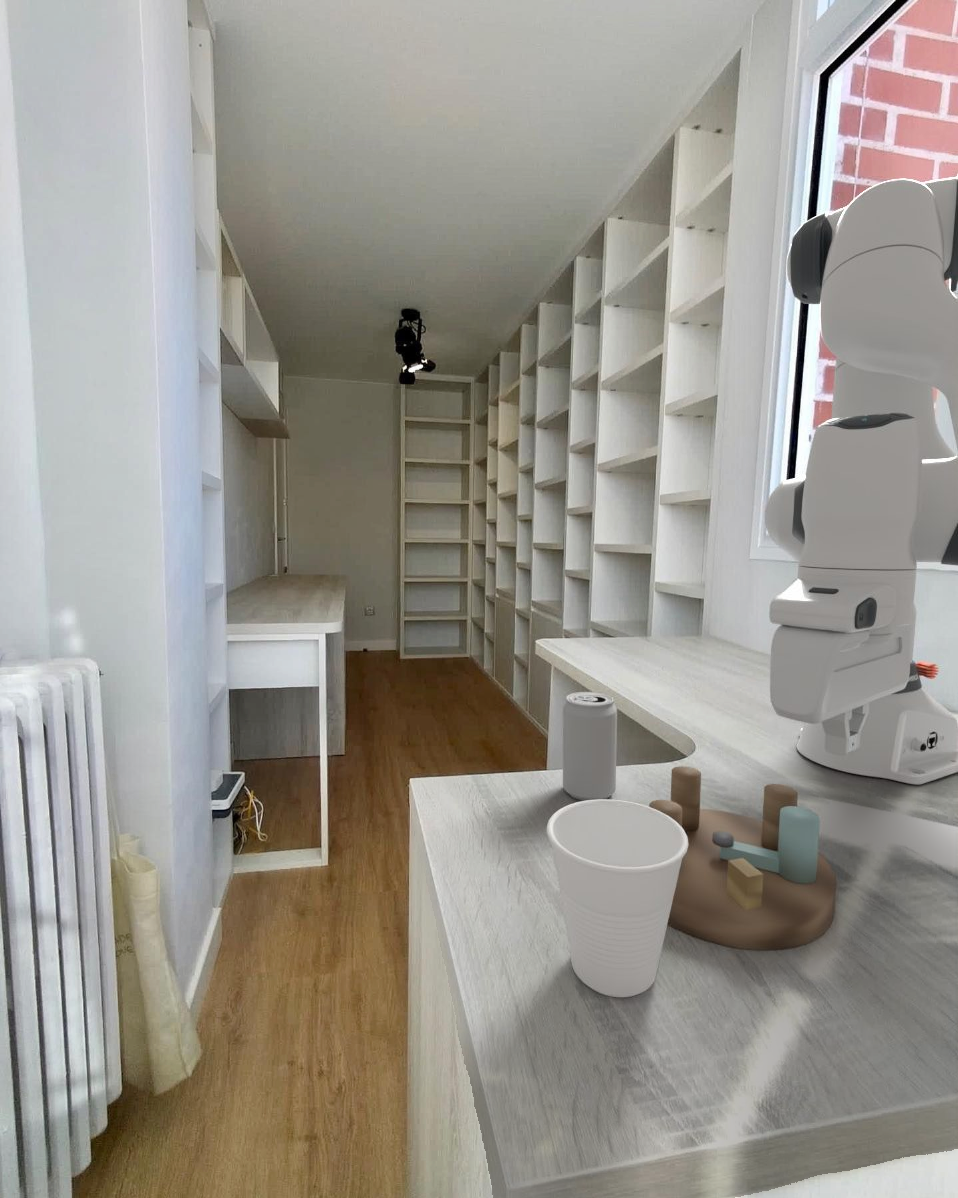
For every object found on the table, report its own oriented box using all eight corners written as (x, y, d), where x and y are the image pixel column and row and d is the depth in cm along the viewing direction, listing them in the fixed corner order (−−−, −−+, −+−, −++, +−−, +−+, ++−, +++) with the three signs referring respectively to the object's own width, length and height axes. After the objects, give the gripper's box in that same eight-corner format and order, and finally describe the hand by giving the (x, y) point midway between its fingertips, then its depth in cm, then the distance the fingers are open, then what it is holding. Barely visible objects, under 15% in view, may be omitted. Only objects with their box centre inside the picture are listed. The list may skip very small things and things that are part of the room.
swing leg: (708, 859, 54) (711, 803, 54) (714, 844, 57) (717, 790, 56) (815, 887, 50) (819, 826, 49) (816, 869, 53) (820, 811, 52)
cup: (657, 922, 50) (661, 796, 48) (705, 1021, 40) (712, 867, 39) (538, 926, 50) (538, 800, 48) (557, 1027, 40) (558, 872, 38)
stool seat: (740, 821, 66) (743, 751, 65) (887, 926, 49) (895, 834, 48) (589, 844, 62) (590, 770, 61) (692, 970, 45) (696, 869, 44)
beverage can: (616, 806, 70) (618, 706, 68) (560, 802, 71) (561, 704, 70) (615, 783, 76) (616, 691, 75) (564, 779, 77) (564, 688, 76)
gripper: (862, 591, 62) (852, 721, 63) (758, 604, 50) (749, 765, 51) (935, 596, 57) (923, 738, 58) (840, 612, 45) (828, 791, 46)
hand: (841, 751), depth 55 cm, fingers closed
